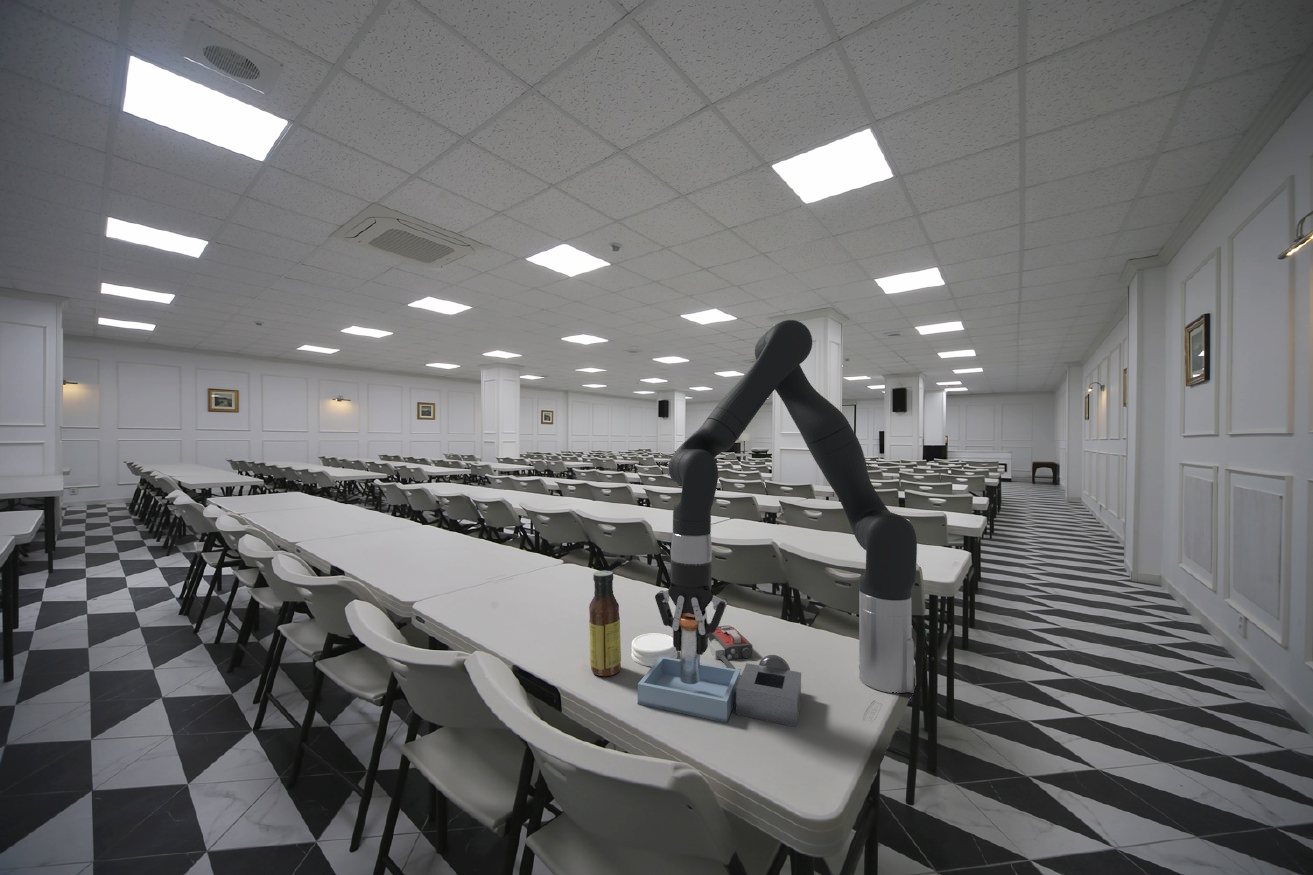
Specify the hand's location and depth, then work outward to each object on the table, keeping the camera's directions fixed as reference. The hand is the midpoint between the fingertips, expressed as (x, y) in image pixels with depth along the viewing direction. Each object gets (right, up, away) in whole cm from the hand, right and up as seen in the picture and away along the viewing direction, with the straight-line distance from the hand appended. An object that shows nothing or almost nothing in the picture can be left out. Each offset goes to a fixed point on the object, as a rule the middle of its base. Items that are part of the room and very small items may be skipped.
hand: (690, 650), depth 87 cm
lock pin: (0, -5, 0) cm, 5 cm away
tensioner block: (+14, -8, -2) cm, 17 cm away
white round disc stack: (-7, -9, +16) cm, 20 cm away
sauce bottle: (-17, -8, +9) cm, 21 cm away
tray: (0, -8, 0) cm, 8 cm away
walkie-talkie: (+10, -9, +18) cm, 23 cm away
